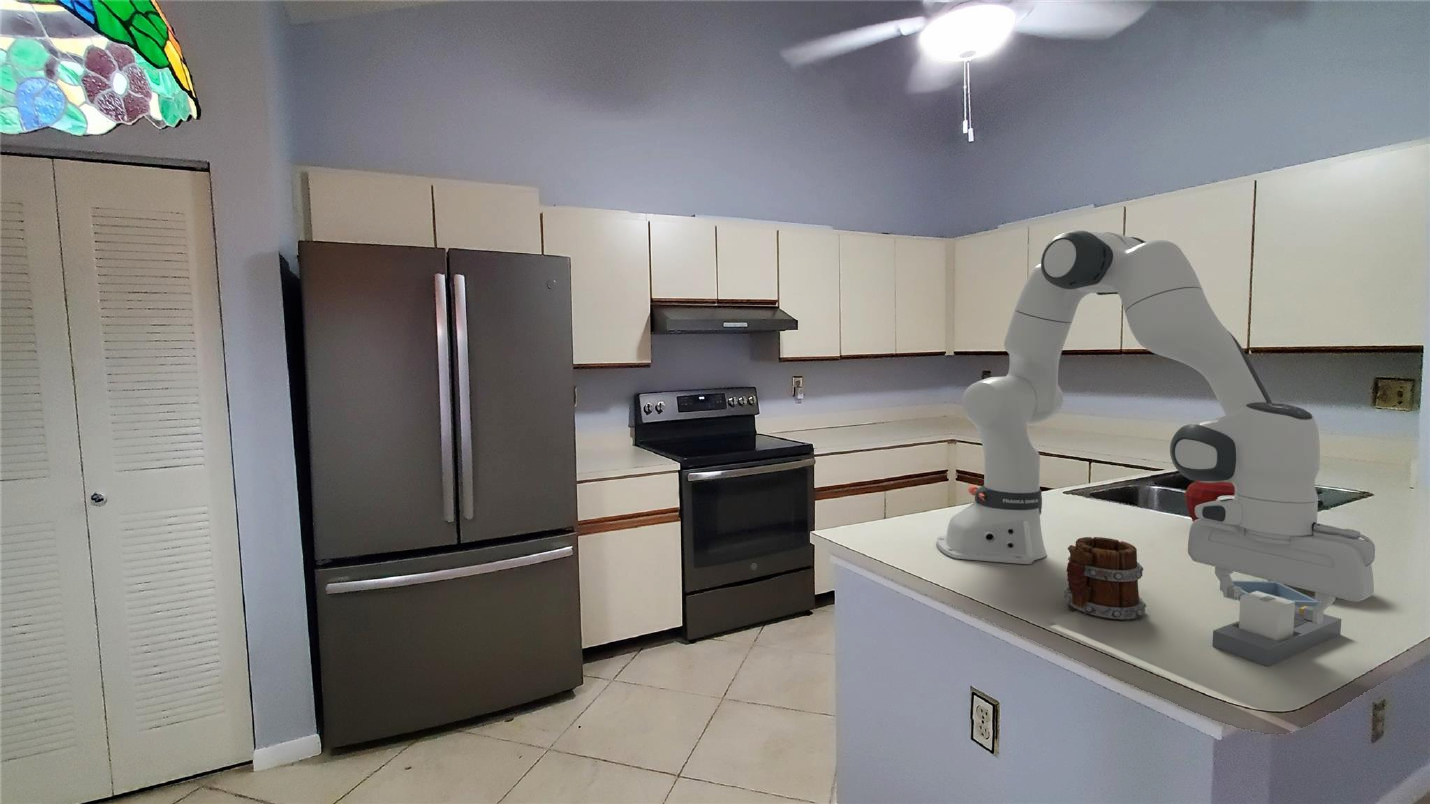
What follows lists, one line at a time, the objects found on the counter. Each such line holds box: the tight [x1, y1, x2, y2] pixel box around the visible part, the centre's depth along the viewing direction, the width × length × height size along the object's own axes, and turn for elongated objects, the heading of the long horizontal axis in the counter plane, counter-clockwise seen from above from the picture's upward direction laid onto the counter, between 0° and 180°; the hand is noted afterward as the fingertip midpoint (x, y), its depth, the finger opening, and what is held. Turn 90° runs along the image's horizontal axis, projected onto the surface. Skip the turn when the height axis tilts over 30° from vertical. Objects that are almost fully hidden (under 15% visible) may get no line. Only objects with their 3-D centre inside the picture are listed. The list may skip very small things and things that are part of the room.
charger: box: [1238, 591, 1295, 642], centre depth 89 cm, size 4×4×7 cm
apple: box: [1184, 481, 1235, 523], centre depth 146 cm, size 12×12×13 cm
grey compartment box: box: [1211, 606, 1342, 667], centre depth 91 cm, size 25×6×4 cm, turn 115°
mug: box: [1063, 536, 1147, 622], centre depth 102 cm, size 12×14×15 cm
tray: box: [1219, 579, 1320, 607], centre depth 104 cm, size 9×9×3 cm
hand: (1270, 609), depth 88 cm, fingers open, 8 cm apart
